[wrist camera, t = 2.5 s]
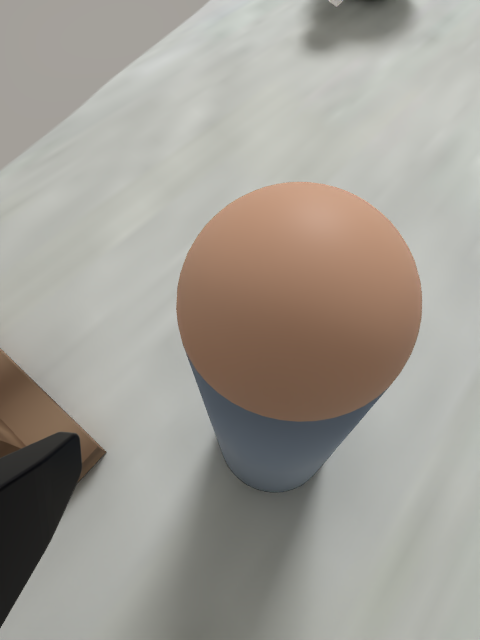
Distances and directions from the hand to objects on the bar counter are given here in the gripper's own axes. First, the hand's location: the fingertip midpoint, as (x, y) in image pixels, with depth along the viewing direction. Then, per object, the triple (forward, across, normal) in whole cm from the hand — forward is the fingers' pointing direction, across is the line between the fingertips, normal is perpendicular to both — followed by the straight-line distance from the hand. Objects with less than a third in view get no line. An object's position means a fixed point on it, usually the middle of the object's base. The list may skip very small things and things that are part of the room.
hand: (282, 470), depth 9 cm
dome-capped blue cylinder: (+10, 0, +5) cm, 11 cm away
